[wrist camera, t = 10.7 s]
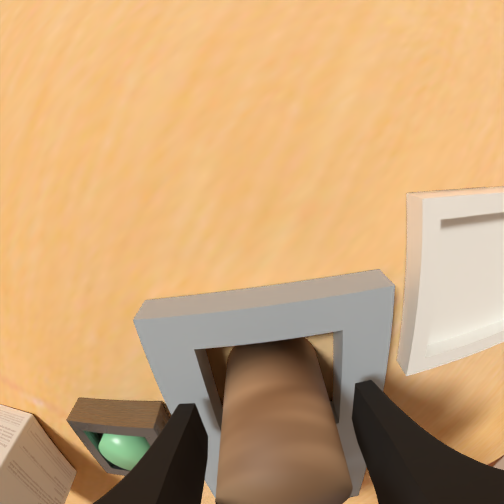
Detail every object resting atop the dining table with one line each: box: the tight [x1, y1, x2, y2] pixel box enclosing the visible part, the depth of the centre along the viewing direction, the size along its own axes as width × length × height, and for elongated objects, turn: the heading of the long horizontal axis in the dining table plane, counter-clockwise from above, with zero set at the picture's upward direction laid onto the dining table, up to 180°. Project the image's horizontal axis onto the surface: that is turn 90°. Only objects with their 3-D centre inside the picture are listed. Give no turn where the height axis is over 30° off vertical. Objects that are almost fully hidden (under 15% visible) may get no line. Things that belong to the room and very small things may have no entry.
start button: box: [99, 433, 150, 471], centre depth 13 cm, size 3×3×2 cm
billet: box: [215, 337, 353, 504], centre depth 9 cm, size 4×4×6 cm
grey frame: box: [133, 269, 395, 498], centre depth 13 cm, size 9×16×2 cm, turn 8°
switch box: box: [67, 398, 169, 476], centre depth 13 cm, size 5×5×2 cm
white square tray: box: [397, 186, 504, 376], centre depth 11 cm, size 8×8×1 cm
